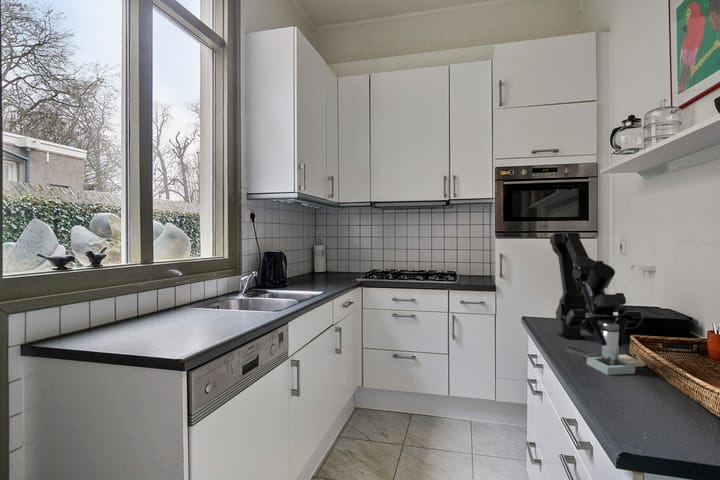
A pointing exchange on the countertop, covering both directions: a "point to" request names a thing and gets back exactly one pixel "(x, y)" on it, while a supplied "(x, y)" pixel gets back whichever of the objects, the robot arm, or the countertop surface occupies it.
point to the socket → (611, 370)
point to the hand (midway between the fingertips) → (612, 345)
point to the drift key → (579, 352)
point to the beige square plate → (631, 360)
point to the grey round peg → (610, 343)
